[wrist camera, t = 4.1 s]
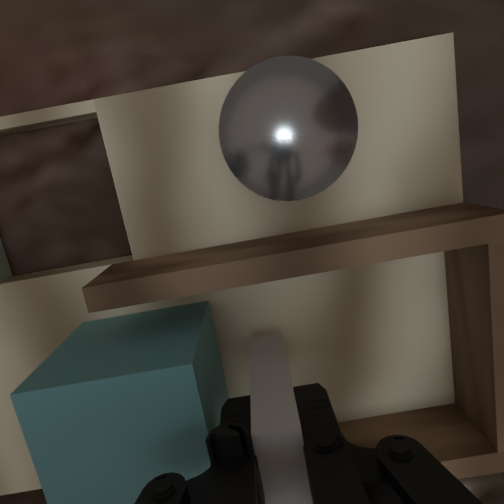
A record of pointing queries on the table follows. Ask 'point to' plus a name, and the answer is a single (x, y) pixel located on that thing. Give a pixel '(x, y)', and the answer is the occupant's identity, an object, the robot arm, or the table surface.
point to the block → (123, 404)
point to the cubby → (358, 254)
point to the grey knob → (288, 128)
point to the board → (265, 225)
